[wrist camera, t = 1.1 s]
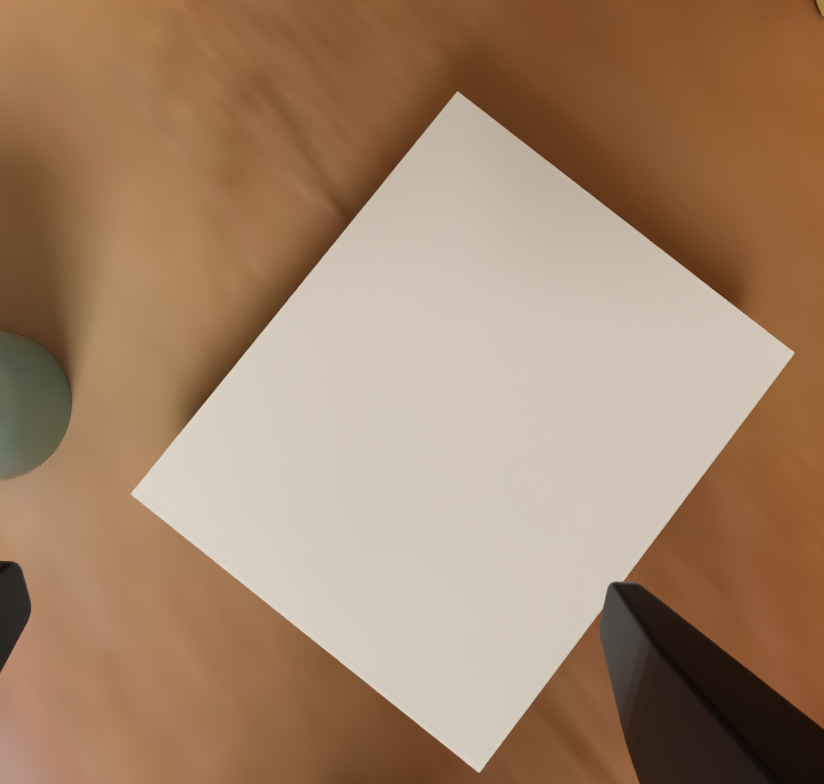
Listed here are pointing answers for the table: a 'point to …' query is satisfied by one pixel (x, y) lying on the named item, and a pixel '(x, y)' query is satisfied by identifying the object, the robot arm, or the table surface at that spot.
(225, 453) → the white slab
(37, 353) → the teal cup
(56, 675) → the table surface
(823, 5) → the candy box
